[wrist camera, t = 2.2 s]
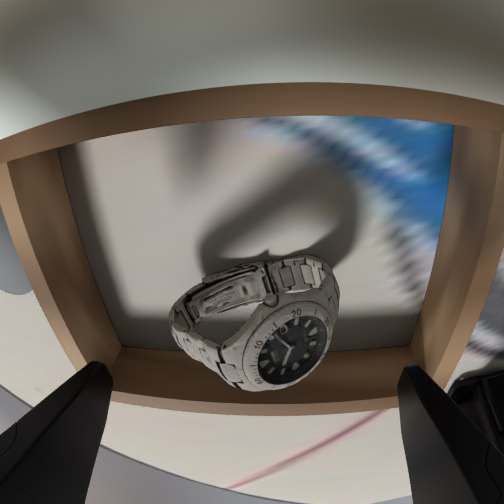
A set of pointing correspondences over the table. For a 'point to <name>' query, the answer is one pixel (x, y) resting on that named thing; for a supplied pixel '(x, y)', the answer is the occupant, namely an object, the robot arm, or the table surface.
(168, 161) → the table surface
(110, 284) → the table surface
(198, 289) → the wristwatch
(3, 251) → the felt pad
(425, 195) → the table surface
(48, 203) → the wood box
